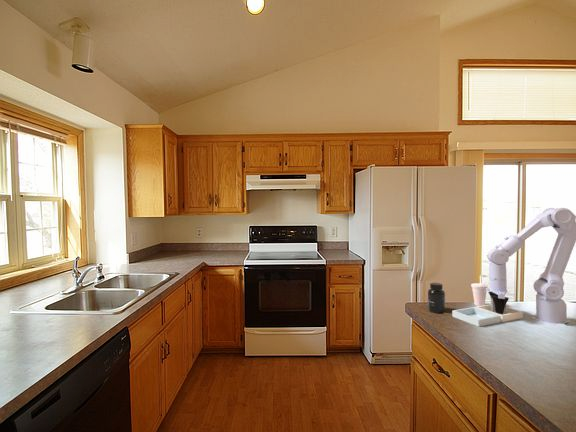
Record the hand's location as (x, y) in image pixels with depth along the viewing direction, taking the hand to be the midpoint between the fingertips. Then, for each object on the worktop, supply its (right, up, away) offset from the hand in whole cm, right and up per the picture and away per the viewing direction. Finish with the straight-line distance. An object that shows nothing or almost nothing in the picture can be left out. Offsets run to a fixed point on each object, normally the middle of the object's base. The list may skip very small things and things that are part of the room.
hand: (498, 311), depth 119 cm
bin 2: (0, -2, 0) cm, 2 cm away
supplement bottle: (-21, -3, +8) cm, 23 cm away
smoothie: (+1, -2, +14) cm, 14 cm away
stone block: (0, -1, 0) cm, 1 cm away
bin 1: (-12, -2, -4) cm, 13 cm away
